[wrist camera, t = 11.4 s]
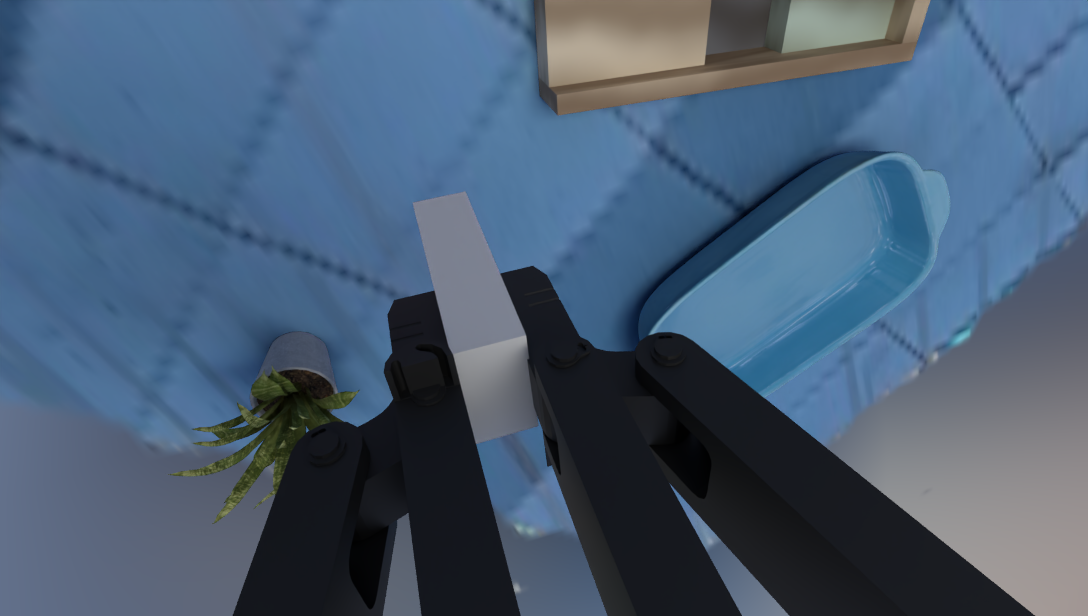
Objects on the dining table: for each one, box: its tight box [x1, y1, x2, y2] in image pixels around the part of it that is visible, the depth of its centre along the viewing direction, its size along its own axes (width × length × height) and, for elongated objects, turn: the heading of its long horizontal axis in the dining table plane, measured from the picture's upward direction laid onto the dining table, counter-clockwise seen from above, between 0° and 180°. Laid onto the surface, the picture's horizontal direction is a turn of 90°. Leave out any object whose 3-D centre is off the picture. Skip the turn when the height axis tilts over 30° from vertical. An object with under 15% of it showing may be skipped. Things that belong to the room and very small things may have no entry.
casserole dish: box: [638, 151, 950, 398], centre depth 63 cm, size 37×22×7 cm, turn 127°
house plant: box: [170, 332, 359, 523], centre depth 48 cm, size 14×14×16 cm
